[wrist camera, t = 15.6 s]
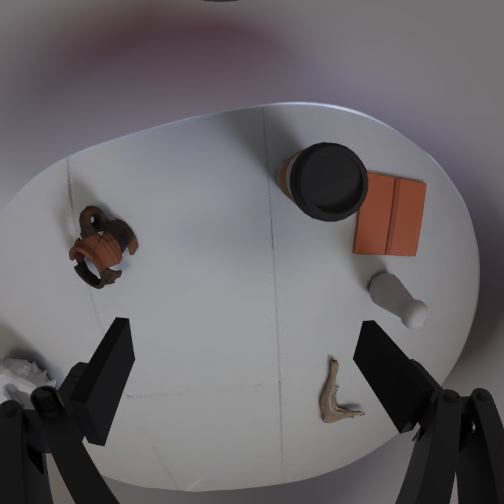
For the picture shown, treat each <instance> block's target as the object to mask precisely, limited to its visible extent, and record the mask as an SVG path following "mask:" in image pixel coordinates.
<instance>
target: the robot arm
mask: <svg viewBox="0 0 504 504" xmlns="http://www.w3.org/2000/svg"><path fill="white" fill-rule="evenodd" d="M353 360H354V361H355V363H356V365H357V366H358V368H359V369H360V371H361V372H362V374H363V375H364V377H365V379H366V380H367V382H368V383H369V385H370V386H371V388H372V390H373V391H374V393H375V394H376V396H377V397H378V399H379V401H380V402H381V404H382V405H383V407H384V409H385V410H386V412H387V413H388V415H389V417H390V418H391V420H392V421H393V423H394V425H395V426H396V428H397V430H398V431H399V433H400V434H401V433H404V432H408V431H411V430H413V428H414V427H415V425H416V423H417V422H418V423H419V424H420V426H421V427H420V428H419V430H418V432H417V433H416V435H415V436H414V438H413V440H412V441H414V440H415V439H416V441H415V445H414V448H413V453H412V456H411V459H410V462H409V466H408V469H407V473H406V475H405V478H404V481H403V484H402V487H401V490H400V493H399V495H398V498H397V501H396V503H395V504H449V503H450V498H451V494H452V488H453V483H454V478H455V472H456V477H457V489H458V504H504V428H503V425H502V422H501V419H500V416H499V413H498V411H497V408H496V405H495V403H494V400H493V398H492V396H491V394H490V393H489V392H488V391H487V390H485V389H482V388H476V389H474V390H473V392H472V393H471V395H470V396H466V397H460V395H459V394H458V393H457V392H455V391H453V390H449V389H445V390H443V389H442V388H441V386H440V385H439V384H438V383H437V382H436V381H435V380H434V378H433V377H432V376H431V375H429V373H428V372H427V371H425V368H424V367H423V366H422V365H421V364H420V363H418V362H417V361H415V360H414V359H409V358H408V357H407V356H406V355H405V354H404V353H403V352H402V350H401V349H400V348H399V347H398V346H397V345H396V344H395V343H394V342H393V340H392V339H391V338H390V337H389V336H388V335H387V334H386V333H385V332H384V331H383V329H382V328H381V327H380V326H379V325H378V324H377V323H376V322H375V321H374V320H370V321H363V323H362V327H361V331H360V335H359V339H358V342H357V346H356V350H355V353H354V357H353ZM134 361H135V356H134V350H133V343H132V337H131V330H130V323H129V318H118V317H116V318H115V320H114V321H113V323H112V325H111V326H110V328H109V329H108V331H107V333H106V334H105V336H104V338H103V339H102V341H101V343H100V344H99V346H98V348H97V349H96V351H95V353H94V354H93V356H92V358H91V360H90V361H89V363H83V362H79V363H77V364H76V365H75V366H73V367H72V368H71V370H70V372H69V373H68V376H67V377H66V378H65V381H63V383H62V385H61V387H60V388H59V390H58V391H57V389H56V388H54V387H52V386H48V385H45V386H40V387H38V388H36V389H35V390H33V391H32V393H31V395H30V401H31V403H32V405H33V407H34V409H23V408H22V406H21V405H20V403H19V402H17V401H15V400H7V401H4V402H3V403H1V404H0V504H53V500H52V495H51V490H50V484H49V477H48V470H47V464H46V454H45V453H52V456H53V458H54V460H55V462H56V465H57V467H58V470H59V472H60V474H61V476H62V478H63V480H64V482H65V484H66V486H67V488H68V490H69V492H70V494H71V496H72V498H73V500H74V502H75V503H76V504H120V503H119V502H118V501H117V499H116V497H115V496H114V494H113V493H112V492H111V490H110V489H109V487H108V486H107V484H106V482H105V481H104V479H103V478H102V476H101V474H100V473H99V471H98V470H97V468H96V466H95V464H94V463H93V461H92V459H91V458H90V456H89V454H88V452H87V450H86V448H85V447H84V445H83V443H82V441H83V438H84V436H85V437H86V439H87V441H88V443H91V444H96V445H100V446H105V443H106V440H107V437H108V434H109V431H110V428H111V425H112V422H113V419H114V416H115V413H116V410H117V407H118V404H119V401H120V399H121V396H122V393H123V390H124V387H125V385H126V382H127V379H128V377H129V374H130V371H131V369H132V366H133V363H134ZM474 428H475V430H474Z"/></svg>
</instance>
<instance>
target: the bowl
mask: <svg viewBox="0 0 504 504" xmlns="http://www.w3.org/2000/svg"><path fill="white" fill-rule="evenodd" d="M35 362H36V361H34V362H33V363H29V362H28V361H27V360H20V359H11V358H7V356H6V357H5V358H3V359H2V360H0V404H1V403H3V402H4V401H7V400H15V401H17V402H19V403H20V405H21V406H22V408H23V409H34V407H33V405H32V403H31V401H30V395H31V393H32V391H33V390H35V389H36V388H38V387H40V386H45V385H48V386H52V387H54V388H56V389H57V387H58V386H57V387H55V385H56V381H57V380H52V381H50V380H49V379H48V377H47V376H46V374H47V370H45V371H43V372H42V371H41V369H39V368H38V366H37V364H35Z"/></svg>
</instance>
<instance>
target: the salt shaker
mask: <svg viewBox="0 0 504 504" xmlns="http://www.w3.org/2000/svg"><path fill="white" fill-rule="evenodd" d="M369 291H370V295H371V299H372V301H373V302H374V303H375V304H377V305H378V306H380V307H382V308H384V309H385V310H387V311H389V312H391V313H393V314H395V315H397V316H398V317H400V318H401V321H402V323H403V324H404V325H405V326H406V327H407V328H409V329H413V330H415V329H417V328H419V327H421V326H422V325H423V324H424V323H425V321H426V320H427V317H428V307H427V306H426V305H425V304H424V303H423V302H422V301H420V300H414V298H413V297H412V296H411V294H410V293H409V292H408V291H407V289H406V288H405V287H404V285H403V284H402V283H401V282H400V280H399V279H398V278H397V277H396V276H395V275H393V274H389V273H382V274H379V275H378V276H376V277H374V278H372V281H371V284H370V286H369Z"/></svg>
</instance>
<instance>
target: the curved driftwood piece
mask: <svg viewBox="0 0 504 504" xmlns="http://www.w3.org/2000/svg"><path fill="white" fill-rule="evenodd" d="M338 365H339V364H338V362H337V360H334V361H333V360H332V361H331V365H330V376H329V379H328V381H327V384H326V386H325V388H324V391H323V393H322V396H321V400H320V407H321V411H322V413H323V419H322V420H323V421H324V422H325V423H331V422H335V421H338V420H340V419H343V418H347V417H351V418H354V416H353V415H360V416H361V415H365V412H363V411H349V410H344V409H342V408H338V407H337V405H338V404H337V403H336V392H337V389H338V387H339V386H335V379H336V374H337V372H338Z"/></svg>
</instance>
